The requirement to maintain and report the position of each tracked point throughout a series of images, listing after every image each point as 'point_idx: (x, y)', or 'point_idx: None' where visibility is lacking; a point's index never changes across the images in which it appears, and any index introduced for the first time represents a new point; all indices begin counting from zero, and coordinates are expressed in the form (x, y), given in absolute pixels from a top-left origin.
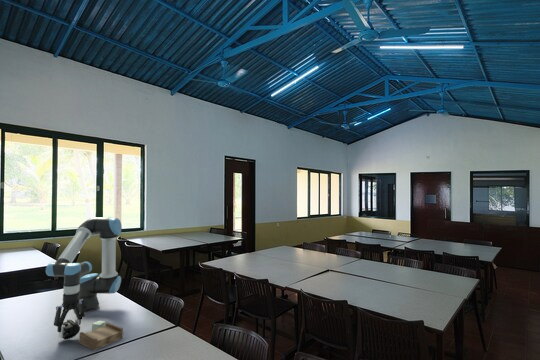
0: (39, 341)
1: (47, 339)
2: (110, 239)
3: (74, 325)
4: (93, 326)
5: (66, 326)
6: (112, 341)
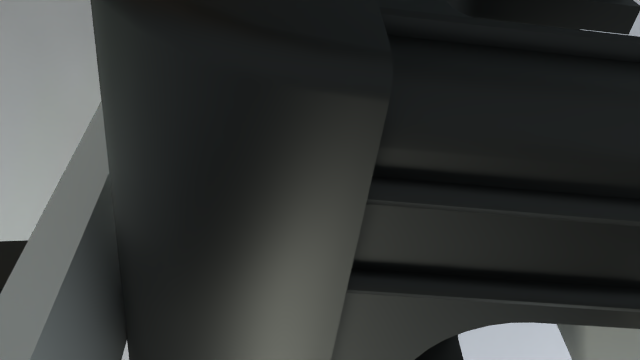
0: (558, 344)
1: (473, 329)
2: None
3: (382, 51)
4: None
5: (576, 274)
6: None
